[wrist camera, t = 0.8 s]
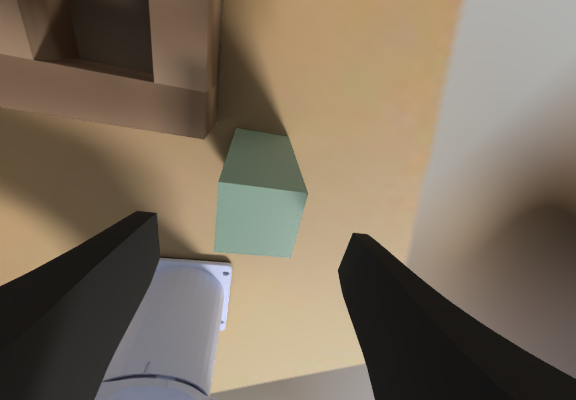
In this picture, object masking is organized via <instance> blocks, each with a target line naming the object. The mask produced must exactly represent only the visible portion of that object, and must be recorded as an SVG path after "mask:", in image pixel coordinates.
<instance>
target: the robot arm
mask: <svg viewBox="0 0 576 400" xmlns="http://www.w3.org/2000/svg"><path fill="white" fill-rule="evenodd" d="M338 274H339V279H340V284H341V289H342V293H343V297H344V300H345V303H346V306H347V309H348V312H349V315H350V318H351V321H352V323H353V326H354V329H355V332H356V335H357V338H358V341H359V344H360V347H361V349H362V352H363V356H364V359H365V362H366V365H367V369H368V373H369V377H370V381H371V385H372V389H373V393H374V397H375V400H576V379H575V378H573V377H571V376H569V375H568V374H566V373H564V372H562V371H560V370H558V369H557V368H555V367H553V366H551V365H549V364H547V363H546V362H544V361H542V360H541V359H539V358H537V357H535V356H534V355H532V354H530V353H528V352H527V351H525V350H523V349H521V348H520V347H518V346H517V345H515V344H514V343H512V342H510V341H509V340H507V339H505V338H504V337H502V336H501V335H499V334H497V333H496V332H494V331H493V330H491V329H490V328H488V327H486V326H485V325H483V324H482V323H480V322H479V321H477V320H476V319H474V318H473V317H472V316H470V315H469V314H467V313H466V312H464V311H463V310H461V309H460V308H459V307H457V306H456V305H454V304H453V303H451V302H450V301H449V300H448V299H446V298H445V297H443V296H442V295H441V294H440V293H438V292H437V291H436V290H435V289H433V288H432V287H431V286H429V285H428V284H427V283H426V282H424V281H423V280H422V279H421V278H419V277H418V276H417V275H416V274H415V273H413V272H412V271H411V270H410V269H409V268H407V267H406V266H405V265H404V264H403V263H402V262H400V261H399V260H398V259H397V258H396V257H395V256H393V255H392V254H391V253H390V252H389V251H388V250H386V249H385V248H384V247H383V246H382V245H380V244H379V243H378V242H377V241H376V240H374V239H373V238H372V237H370V236H369V235H368V234H359V233H353V234H352V237H351V239H350V242H349V244H348V247H347V249H346V252H345V254H344V256H343V259H342V261H341V264H340V266H339V269H338ZM231 275H232V265H231V264H230V263H226V262H212V261H198V260H184V259H170V258H160V249H159V237H158V225H157V213H151V212H142V211H136V212H135V213H133V214H131V215H129V216H128V217H126V218H124V219H122V220H121V221H119V222H117V223H116V224H114V225H112V226H111V227H109V228H108V229H106V230H104V231H103V232H101V233H99V234H97V235H96V236H94V237H92V238H91V239H89V240H87V241H85V242H84V243H82V244H80V245H79V246H77V247H75V248H73V249H71V250H70V251H68V252H66V253H64V254H62V255H60V256H59V257H57V258H55V259H53V260H51V261H49V262H47V263H46V264H44V265H42V266H40V267H38V268H36V269H34V270H32V271H31V272H29V273H27V274H25V275H23V276H21V277H19V278H17V279H14V280H12V281H10V282H8V283H6V284H4V285H2V286H0V400H218V399H217V398H212V397H210V390H211V384H212V377H213V370H214V364H215V357H216V350H217V344H218V337H219V331H222V330H224V329H225V328H226V319H227V310H228V302H229V293H230V284H231Z"/></svg>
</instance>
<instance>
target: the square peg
mask: <svg viewBox="0 0 576 400" xmlns="http://www.w3.org/2000/svg"><path fill="white" fill-rule="evenodd" d="M307 195H308V192H307V189H306V186H305V183H304V180H303V177H302V175H301V172H300V169H299V166H298V163H297V160H296V157H295V154H294V151H293V148H292V145H291V142H290V139H289V137H288V136H282V135H276V134H270V133H264V132H258V131H252V130H246V129H240V128H236V130H235V133H234V136H233V139H232V142H231V145H230V148H229V151H228V154H227V157H226V160H225V163H224V166H223V169H222V172H221V175H220V178H219V181H218V195H217V212H216V228H215V245H214V252H221V253H234V254H247V255H260V256H273V257H286V258H291V255H292V251H293V248H294V244H295V240H296V236H297V233H298V229H299V225H300V221H301V217H302V214H303V210H304V206H305V202H306V198H307Z"/></svg>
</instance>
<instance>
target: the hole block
mask: <svg viewBox="0 0 576 400" xmlns="http://www.w3.org/2000/svg"><path fill="white" fill-rule="evenodd" d="M222 8H223V0H0V108H7V109H13V110H20V111H26V112H32V113H39V114H45V115H52V116H58V117H65V118H71V119H77V120H84V121H90V122H97V123H103V124H110V125H116V126H122V127H129V128H135V129H142V130H148V131H155V132H161V133H167V134H174V135H180V136H187V137H193V138H200V139H205V138H206V136H207V135H208V133H209V132H210V130H211V129H212V127H213V126H214V124H215V123H216V121H217V107H218V88H219V68H220V48H221V28H222Z"/></svg>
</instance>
